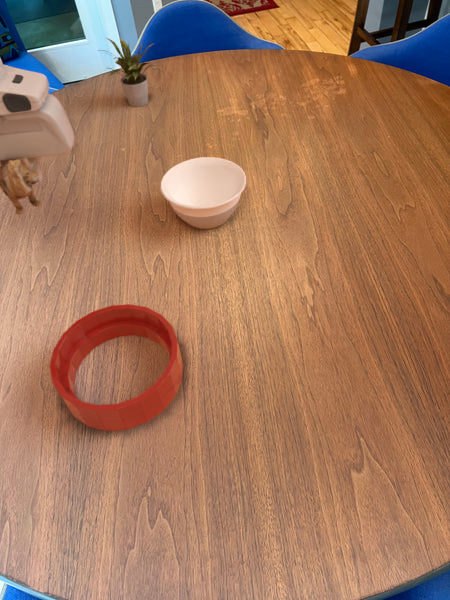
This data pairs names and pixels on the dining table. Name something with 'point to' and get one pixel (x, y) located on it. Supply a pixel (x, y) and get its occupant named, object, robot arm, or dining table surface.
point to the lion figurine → (18, 182)
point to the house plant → (132, 75)
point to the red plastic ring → (100, 330)
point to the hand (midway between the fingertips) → (19, 181)
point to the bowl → (204, 190)
